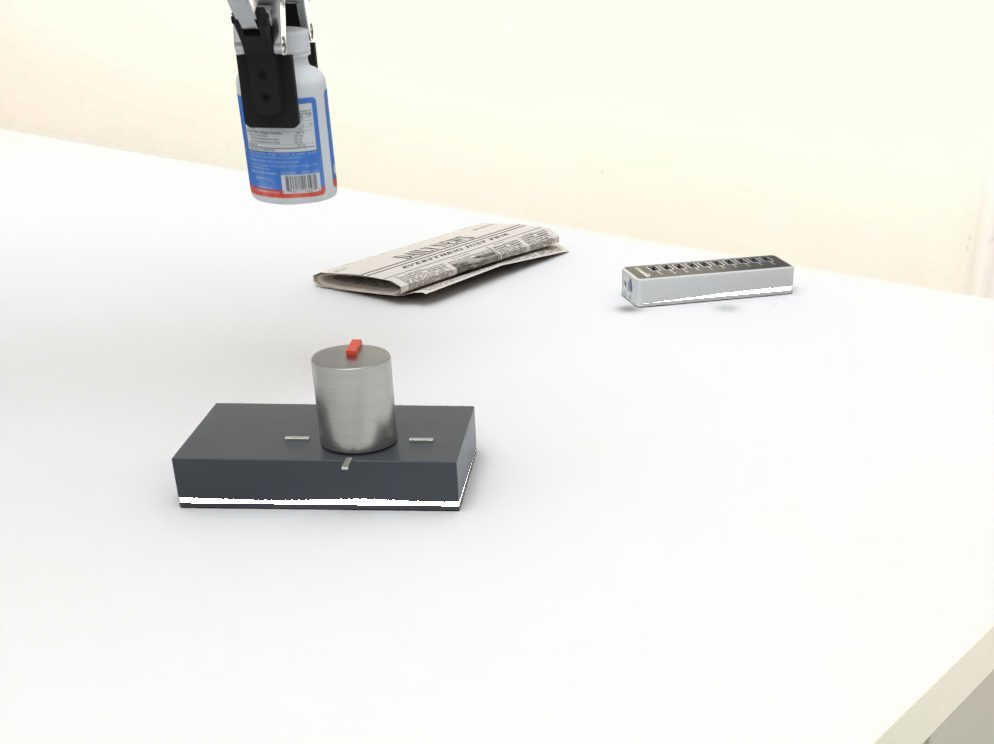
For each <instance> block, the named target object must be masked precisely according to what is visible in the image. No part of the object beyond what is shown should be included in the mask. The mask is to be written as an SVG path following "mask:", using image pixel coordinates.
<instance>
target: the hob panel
mask: <svg viewBox="0 0 994 744" xmlns="http://www.w3.org/2000/svg"><path fill="white" fill-rule="evenodd" d="M395 412H396V424H397V435H398V438H397V440H396V442H395V443H394V444H393V445H391V446H390V447H387V448H385V449H382V450H379V451H375V452H370V453H362V454H346V453H338V452H333V451H330V450H328V449H326V448H324V447H323V446H322V444H321V442H320V434H319V425H318V416H317V408H316V403H252V402H250V403H249V402H248V403H247V402H245V403H244V402H215V404H214V405H213V407H211V409H210V410H209V411H208V412H207V414H206V415H205V416H204V418H203V419H202V420H201V421H200V422H199V424H197V426H196V427H195V429H194V430H193V432H191V434H190V435H189V436H188V437H187V438H186V440H185V441H184V443H183V444H182V445H181V446H180V448H178V450H177V451H176V453H175V454H174V455H173V456H172V457H171V463H172V469H173V475H174V481H175V486H176V491H177V498H178V497H193V498H195V497H198V498H222V499H224V498H228V499H233V498H234V499H254V500H258V499H259V500H264V499H267V500H271V499H272V500H285V499H286V500H291V499H293V500H298V499H300V500H305V499H307V500H309V499H340V498H342V499H348V498H350V499H353V498H359V499H361V498H367V499H374V498H375V499H387V500H388V499H389V500H392V499H395V500H409V501H417V500H419V501H444V502H445V501H459V499H460V497H461V494H462V490H463V487H464V484H465V481H466V478H467V475H468V472H469V469H470V472H469V475H468V479H467V482H466V485H465V489H464V492H463V496H462V499H461V502H460V506H459V507H441V506H357V505H274V504H191V503H179V502H178V503H179V507H180V508H227V509H228V508H233V509H235V508H238V509H244V508H245V509H321V510H322V509H325V510H327V509H328V510H393V511H394V510H400V511H404V510H405V511H407V510H408V511H460V510H461V506H462V502H463V499H464V495H465V492H466V488H467V485H468V482H469V478H470V475H471V472H472V468H473V464H474V461H475V458H476V454H477V451H478V450H477V448H476V447H477V430H476V411H475V406H474V405H417V404H416V405H414V404H413V405H412V404H411V405H410V404H409V405H408V404H407V405H406V404H395ZM475 450H476V451H475ZM474 453H475V455H474ZM473 457H474V458H473ZM472 460H473V461H472ZM471 463H472V465H471ZM470 466H471V468H470Z"/></svg>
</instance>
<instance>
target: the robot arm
mask: <svg viewBox="0 0 994 744" xmlns="http://www.w3.org/2000/svg"><path fill="white" fill-rule="evenodd" d="M226 1H227V4H228V6H229V9H230V11H231V16H230V21H231V24H232V27H233V28H232V29H233V31H232V32H233V45H234V51H235V57H236V66H237V75H238V74H239V82H240V90H241V98H242V105H243V113H244V121H245V123H246V125H247V126H248V127H251V128H295V127H297V126H298V125H299V124H300V113H299V104H298V95H297V86H296V77H295V68H294V59H293V54H286V52H287V44H286V26H294V27H302V28H306V29H308V34H309V41H310V48H311V50H310V51H311V54H310V55H308V62H309V64H310V65H311V66H314V67H316V68H318V69H319V63H318V53H317V44H316V41H314V39H315V30H314V24H313V17H312V11H311V5H310V1H311V0H226Z"/></svg>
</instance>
